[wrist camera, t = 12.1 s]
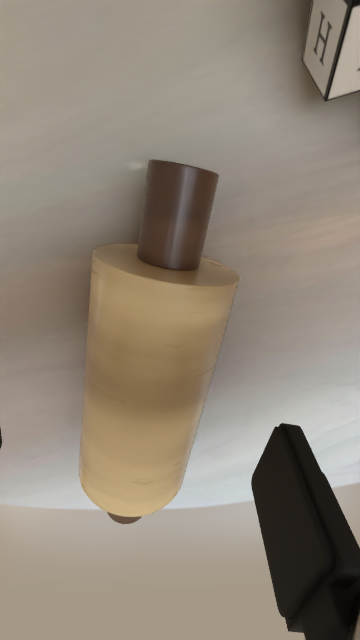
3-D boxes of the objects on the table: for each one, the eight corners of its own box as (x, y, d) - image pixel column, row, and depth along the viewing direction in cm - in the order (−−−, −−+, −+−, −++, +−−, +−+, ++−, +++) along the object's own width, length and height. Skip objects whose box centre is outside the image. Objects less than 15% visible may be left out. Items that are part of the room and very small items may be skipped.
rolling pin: (130, 162, 13) (64, 134, 8) (257, 187, 13) (279, 177, 8) (100, 452, 21) (55, 540, 16) (180, 473, 21) (163, 572, 15)
